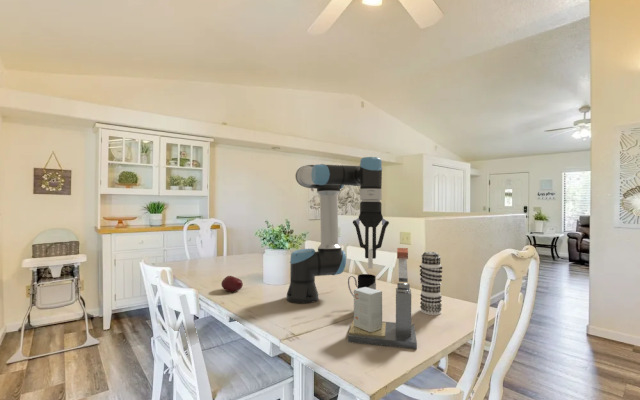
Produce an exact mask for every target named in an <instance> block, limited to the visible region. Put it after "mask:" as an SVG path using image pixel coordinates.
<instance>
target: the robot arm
mask: <svg viewBox="0 0 640 400" xmlns="http://www.w3.org/2000/svg"><path fill="white" fill-rule="evenodd" d="M382 163H383V162H382V159H381V158H380V157H377V156H365V157H362V158H361V159H360V162H359V165H349V164H348V165H346V164H345V165H343V164H341V165H339V164H324V163H321V164H305V165H302V166H300V167H299V168H298V169H297V170H296V172H295V175H294V176H295V180H296V182H297V184H298V185H300V186H301V187H304V188H306V189H307V188H308V189H316V194H318V195H319V198H320V199H319V202H320V204H319V207H320V211H319V212H320V213H319V214H320V216H319V217H320V245H319V246H317V251H316V250H315V249H314V248H301V249H297V250H294V251H293V252H292V253H290V260H289V264H290V269H289V270H290V273H289V274H290V275H289V277H290V280H289V281H290V282H289V286H288V290H287V292H286V300H287V301H288V302H290V303H293V304H294V303H295V304H309V303H315V302H316V301H318V300H319V292H318V290H317V286H316V281H315V279H316V278H315V277H320V276H321V277H322V276H337V275H340V274H342V273H343V272H344V271H345V268H346V265H347V256H346V252H345V251H344V250H343V249H342V245H340V244H339V217H338V216H339V215H338V212H339V211H338V208H339V207H338V195H339V194H340V193H341V190H342V189H343V188H344V186H353V187H359V195H360V197H359V198H360V199H359V200H360V202H359V215H358V218H356V219H354V220H353V221H352V224H353V226H354V227H355V230H356V231H355V232H356V235H357V239H358V243H359V244H358V245H359V247H360V248H362V249H364V258H365V259H367V269H373V265H374V264H373V263H374V262H373V261H374V260H375V259H376V258H377V249H380V248H382V245H383V241H384V237H385V233H386V229H387V227H388V225H389V224H390V221H388V220H386V219H385V218H384V216H383V214H382V189H383V188H382V183H383V182H382V180H383V179H382V178H383V177H382V176H383V175H382V174H383V173H382V172H383V167H382ZM360 223H361V224H362V225H363V227H364V230H365V231H364V238H365V239H364V241H365V242H364V241H363V237H362V233H361V228H360ZM380 224H381V225H382V227H381V230H380V234H379V237H378V241H377V227H378V226H379V225H380ZM370 228H372V232H371V233H372V235H371V236H372V247H371V248H369V246H370V245H369V244H370V242H369V238H370V237H369V236H370V235H369V232H370V231H369V230H370Z"/></svg>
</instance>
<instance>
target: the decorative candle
mask: <svg viewBox="0 0 640 400" xmlns="http://www.w3.org/2000/svg"><path fill="white" fill-rule="evenodd" d="M420 257H421V264H420V265H419V268H420V270H419V272H420V273H419V276H420V279H419V280H420V285H421V289H420V290H421V293H420V295H419V296H420V299H419V300H420V306H419V307H420V312H421V313H423V314H425V315H431V316H438V315H441V314H442V310H443V309H442V306H443V305H442V303H441V302H442V295H441V287H442V283H441V282H442V281H443V279H442V278H443V275H441V274H442V273H443V270H442V269H443V266H442V264H441V257H442V256H441V255H440V254H439V253H438V252H435V251H424V252H423V254H421V255H420Z"/></svg>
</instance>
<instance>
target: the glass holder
mask: <svg viewBox="0 0 640 400" xmlns="http://www.w3.org/2000/svg"><path fill="white" fill-rule="evenodd" d="M376 277H377V276H376V275H374V274H369V273H364V274H363V273H361V274H358V275H357V278H356V277H355V276H353V275H350V276H349V277H348V279H347V285H348V286H347V287H348V290H349V293H350V294H351V296H353V298H354V292H353V291H352V289H351V286H350V279H351V278H353V279H354V282H355V283H354V285H355V287H356V289H358V288H363V287H368V288H371V289H375V290H377V283H376V281H377V280H376Z"/></svg>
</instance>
